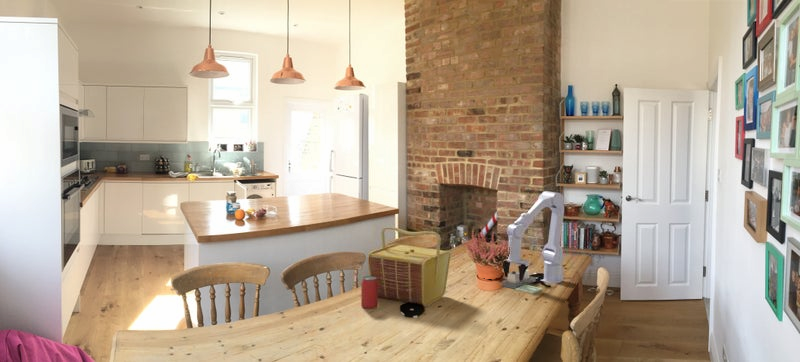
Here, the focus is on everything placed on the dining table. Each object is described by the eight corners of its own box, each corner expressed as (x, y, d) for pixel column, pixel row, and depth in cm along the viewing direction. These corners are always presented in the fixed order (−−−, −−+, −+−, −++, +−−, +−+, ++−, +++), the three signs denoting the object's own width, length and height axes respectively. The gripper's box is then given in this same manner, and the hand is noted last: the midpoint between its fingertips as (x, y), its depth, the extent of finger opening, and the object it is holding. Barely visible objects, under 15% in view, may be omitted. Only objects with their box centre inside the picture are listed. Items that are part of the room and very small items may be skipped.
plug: (511, 284, 248) (512, 270, 247) (519, 286, 245) (519, 271, 245) (507, 286, 245) (507, 271, 244) (514, 288, 242) (515, 273, 242)
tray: (525, 287, 245) (525, 284, 245) (541, 290, 239) (541, 288, 239) (515, 290, 239) (515, 288, 238) (532, 294, 233) (532, 292, 233)
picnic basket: (452, 295, 231) (453, 228, 228) (425, 311, 209) (426, 237, 206) (395, 284, 246) (396, 221, 243) (364, 299, 224) (365, 230, 221)
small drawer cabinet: (520, 279, 258) (521, 272, 257) (535, 282, 252) (535, 276, 252) (501, 286, 245) (501, 280, 244) (515, 290, 239) (516, 283, 239)
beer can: (375, 309, 210) (375, 280, 209) (359, 308, 212) (359, 279, 210) (379, 304, 217) (379, 276, 216) (363, 303, 218) (363, 275, 217)
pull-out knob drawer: (521, 281, 255) (522, 266, 254) (529, 282, 252) (529, 268, 251) (517, 282, 252) (518, 268, 251) (524, 284, 249) (525, 269, 248)
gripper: (496, 248, 246) (496, 277, 247) (524, 253, 236) (523, 283, 237) (504, 246, 251) (504, 274, 252) (532, 251, 241) (531, 280, 242)
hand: (513, 278), depth 245 cm, fingers open, 7 cm apart
